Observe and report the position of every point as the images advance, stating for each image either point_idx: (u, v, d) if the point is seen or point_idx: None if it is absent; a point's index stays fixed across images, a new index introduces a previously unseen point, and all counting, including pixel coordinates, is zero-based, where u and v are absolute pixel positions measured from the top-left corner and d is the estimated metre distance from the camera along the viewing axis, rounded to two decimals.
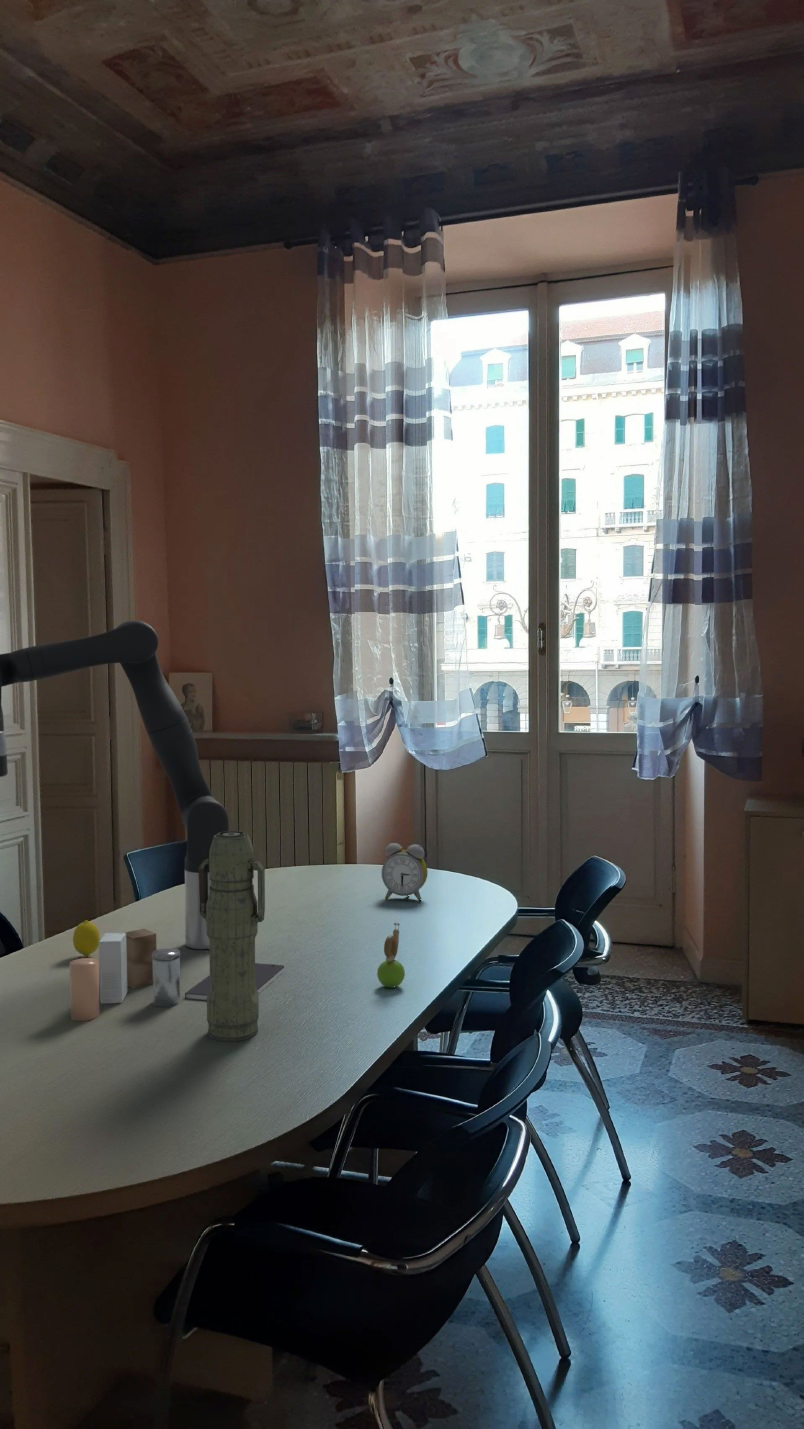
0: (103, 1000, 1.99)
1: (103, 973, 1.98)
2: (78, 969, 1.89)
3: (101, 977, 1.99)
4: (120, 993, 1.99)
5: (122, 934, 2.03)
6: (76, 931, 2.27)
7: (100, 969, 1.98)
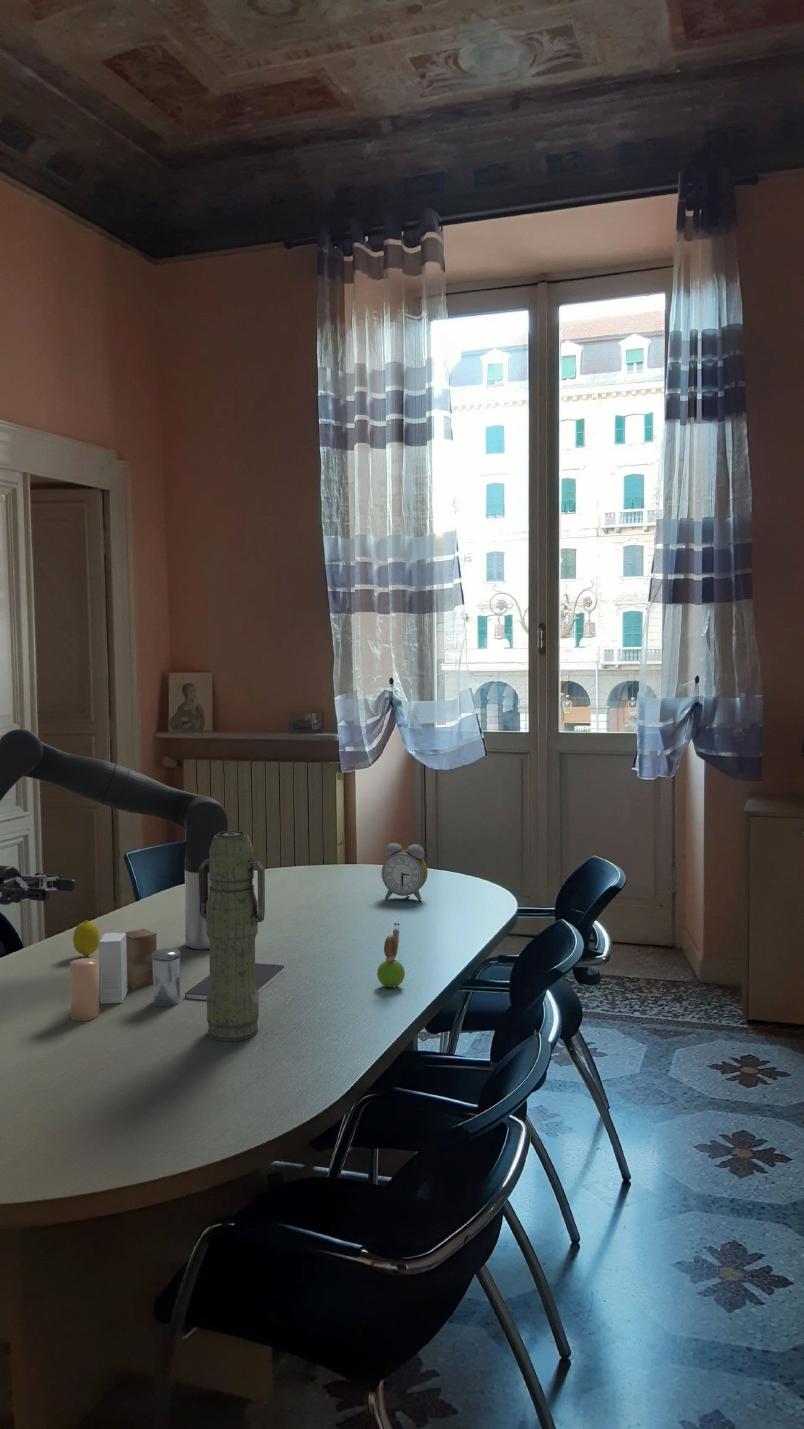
0: (103, 1000, 1.99)
1: (103, 973, 1.98)
2: (78, 969, 1.89)
3: (101, 977, 1.99)
4: (120, 993, 1.99)
5: (122, 934, 2.03)
6: (76, 931, 2.27)
7: (100, 969, 1.98)
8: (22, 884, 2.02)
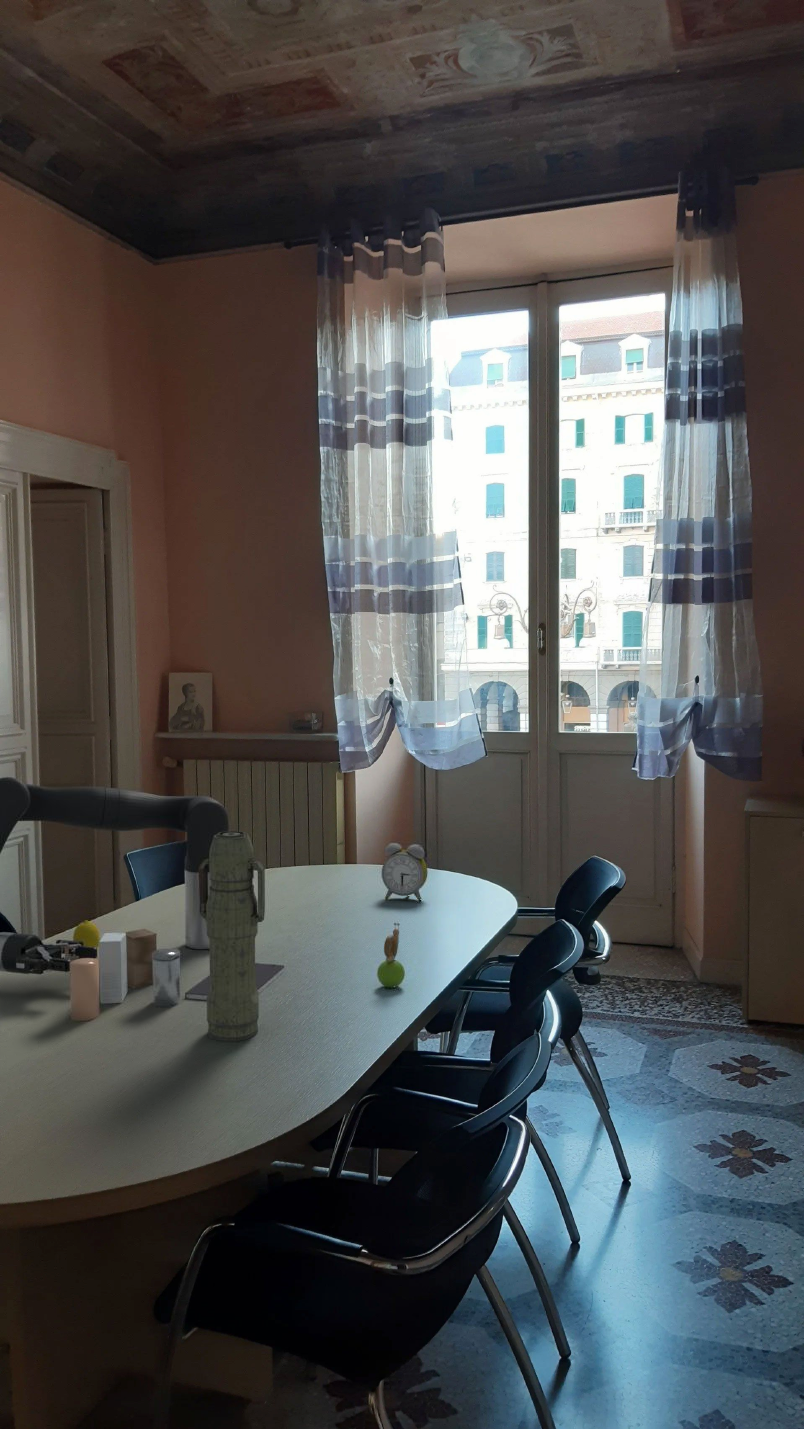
0: (103, 1000, 1.99)
1: (103, 973, 1.98)
2: (78, 969, 1.89)
3: (101, 977, 1.99)
4: (120, 993, 1.99)
5: (122, 934, 2.03)
6: (76, 931, 2.27)
7: (100, 969, 1.98)
8: (44, 954, 2.01)
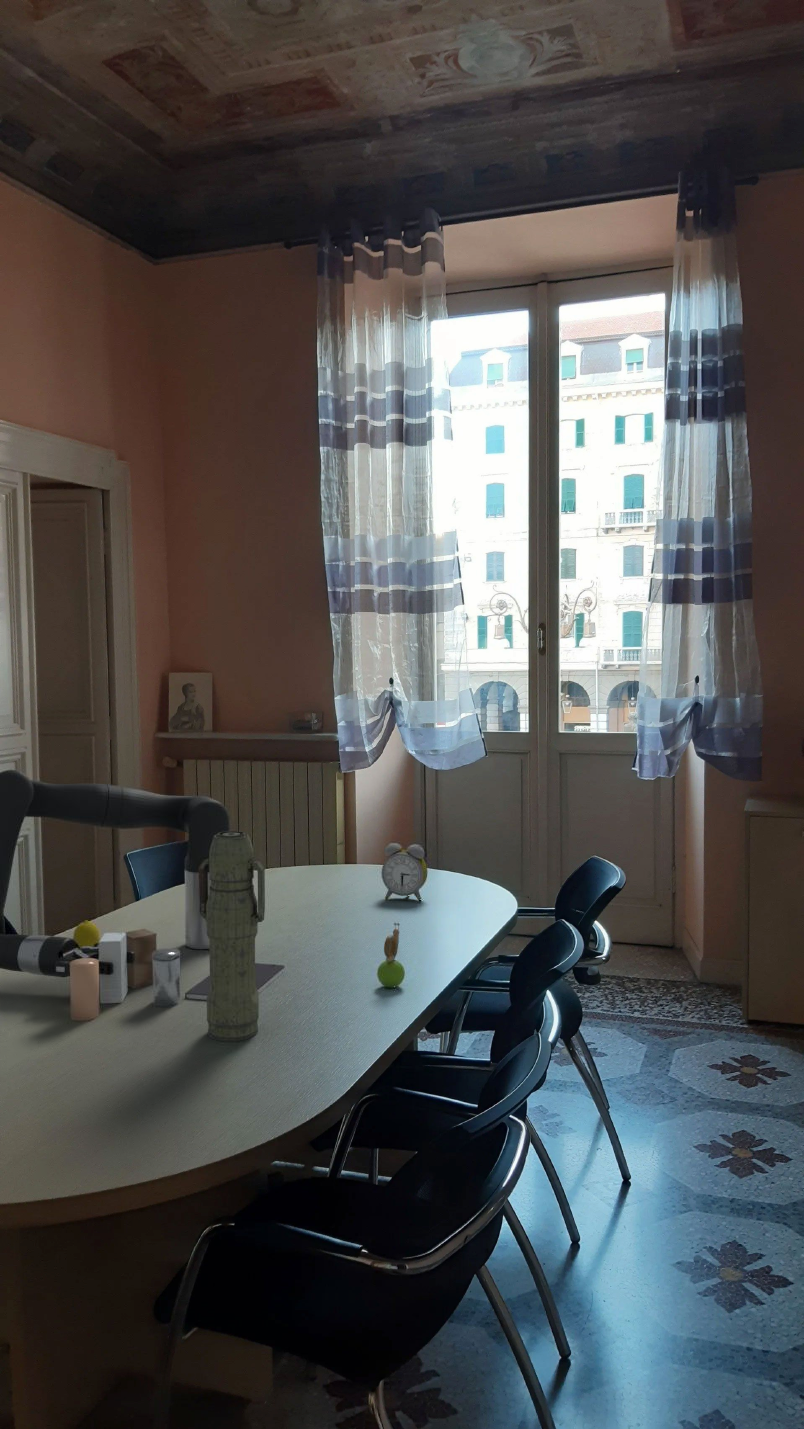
0: (103, 1000, 1.99)
1: None
2: (78, 969, 1.89)
3: (101, 977, 1.98)
4: (120, 993, 1.99)
5: (122, 934, 2.03)
6: (76, 931, 2.27)
7: None
8: (85, 957, 1.99)
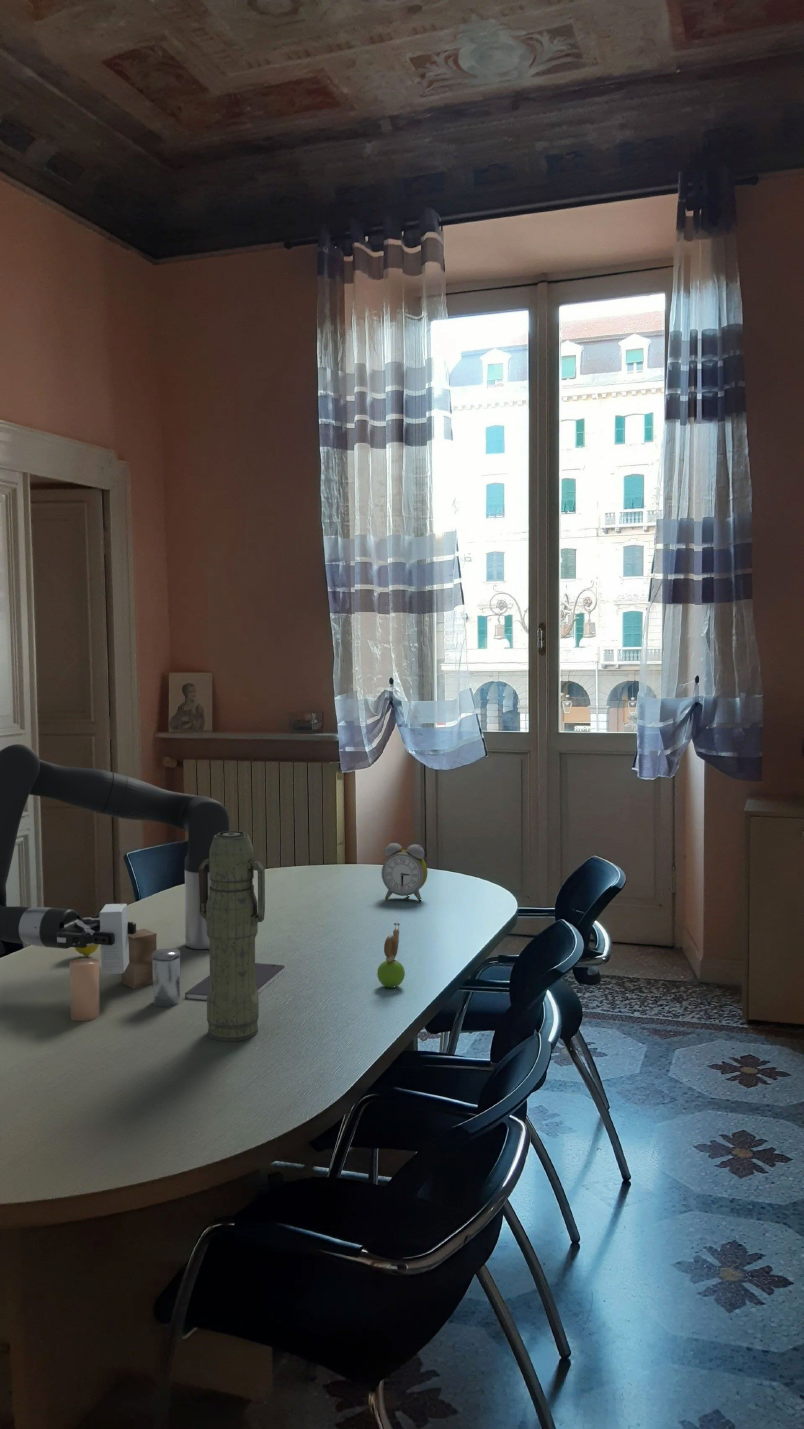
0: (104, 971, 1.99)
1: None
2: (78, 969, 1.89)
3: (102, 948, 1.98)
4: (122, 963, 1.99)
5: (123, 905, 2.02)
6: None
7: None
8: (86, 928, 1.99)
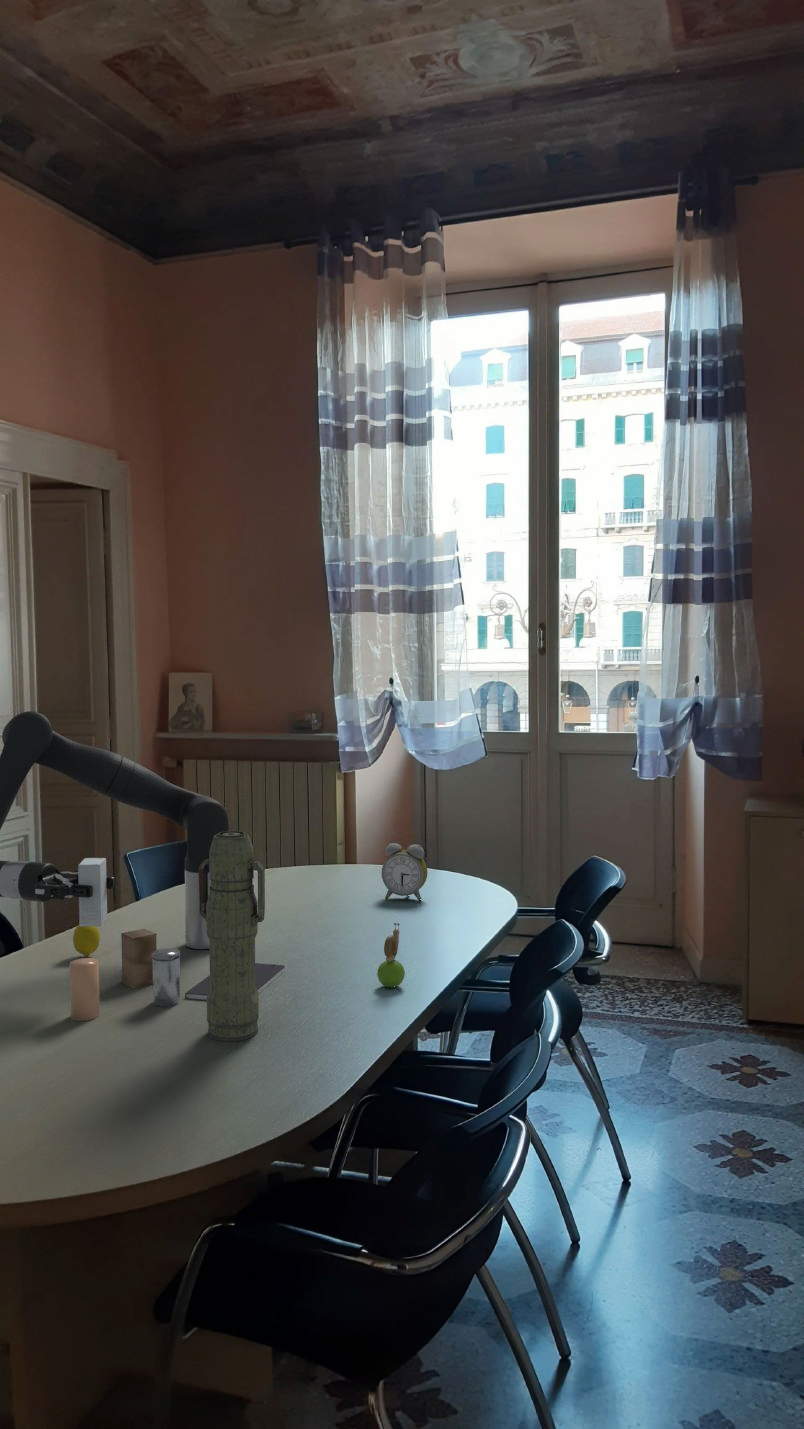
0: (82, 923, 2.00)
1: None
2: (78, 969, 1.89)
3: (80, 900, 1.99)
4: (99, 916, 2.00)
5: (102, 859, 2.04)
6: (76, 931, 2.27)
7: None
8: (64, 881, 2.00)
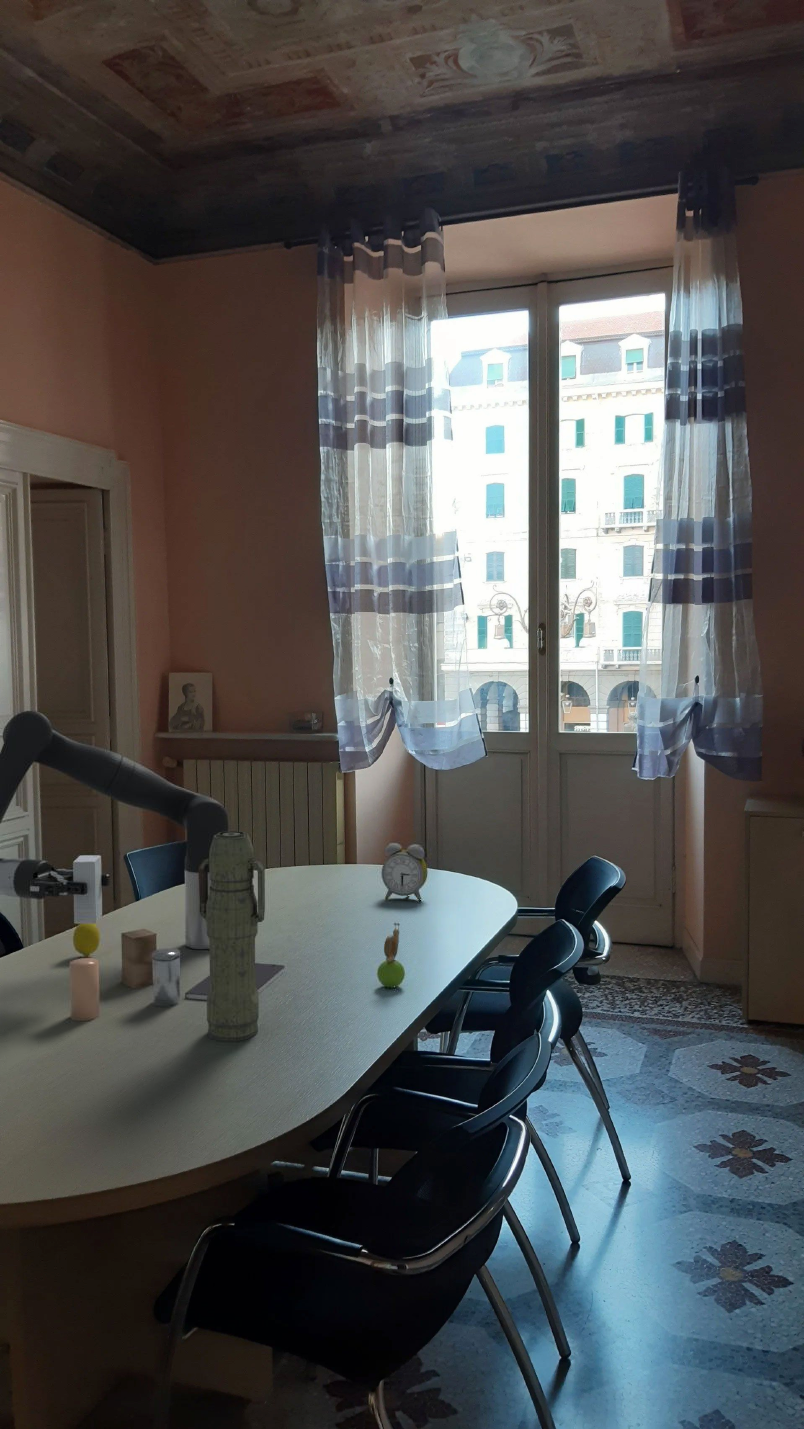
0: (77, 920, 2.00)
1: None
2: (78, 969, 1.89)
3: (75, 897, 2.00)
4: (94, 913, 2.00)
5: (97, 856, 2.04)
6: (76, 931, 2.27)
7: None
8: (59, 878, 2.00)
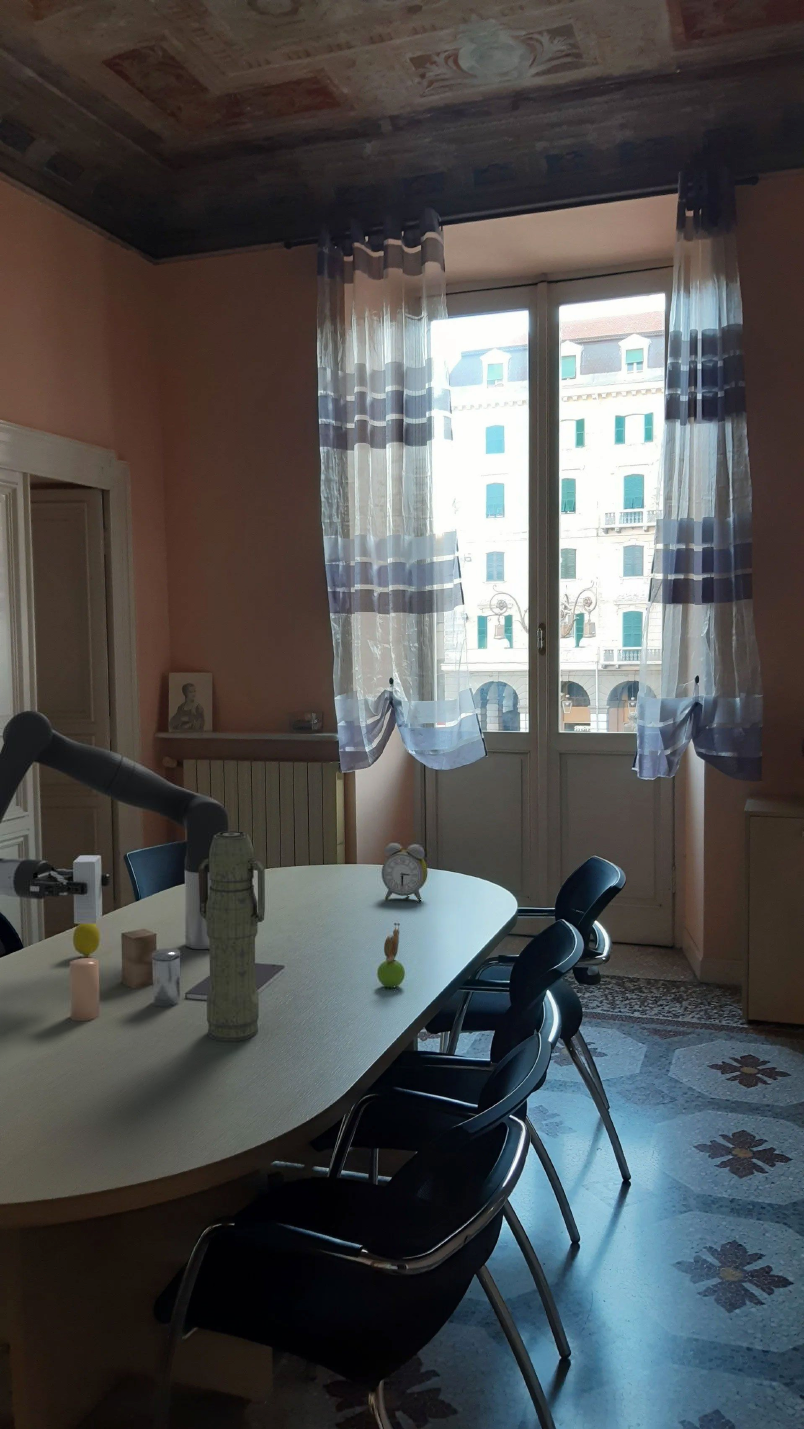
0: (77, 920, 2.00)
1: None
2: (78, 969, 1.89)
3: (75, 897, 2.00)
4: (94, 913, 2.00)
5: (97, 856, 2.04)
6: (76, 931, 2.27)
7: None
8: (59, 878, 2.00)
